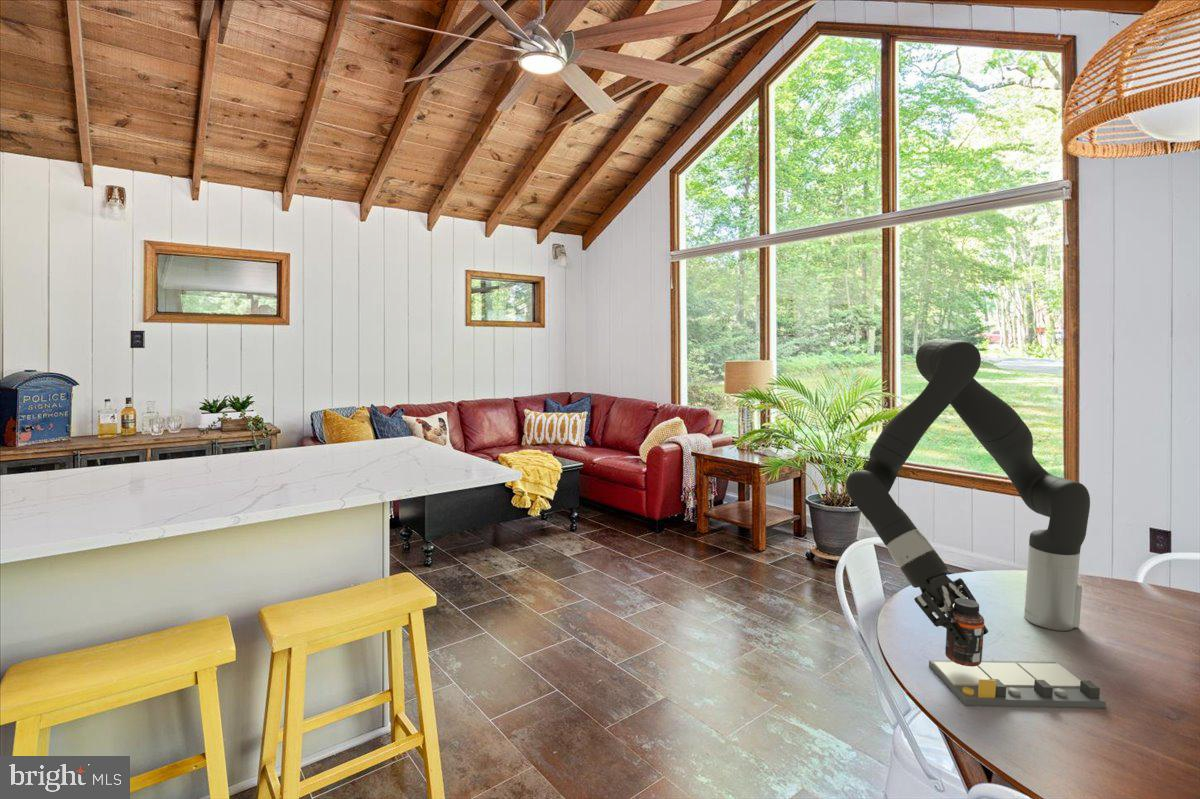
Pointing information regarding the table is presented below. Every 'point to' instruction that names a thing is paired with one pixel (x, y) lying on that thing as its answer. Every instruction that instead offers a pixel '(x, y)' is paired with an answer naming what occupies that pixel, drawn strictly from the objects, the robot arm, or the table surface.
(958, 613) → the supplement bottle
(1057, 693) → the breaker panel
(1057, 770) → the table surface
